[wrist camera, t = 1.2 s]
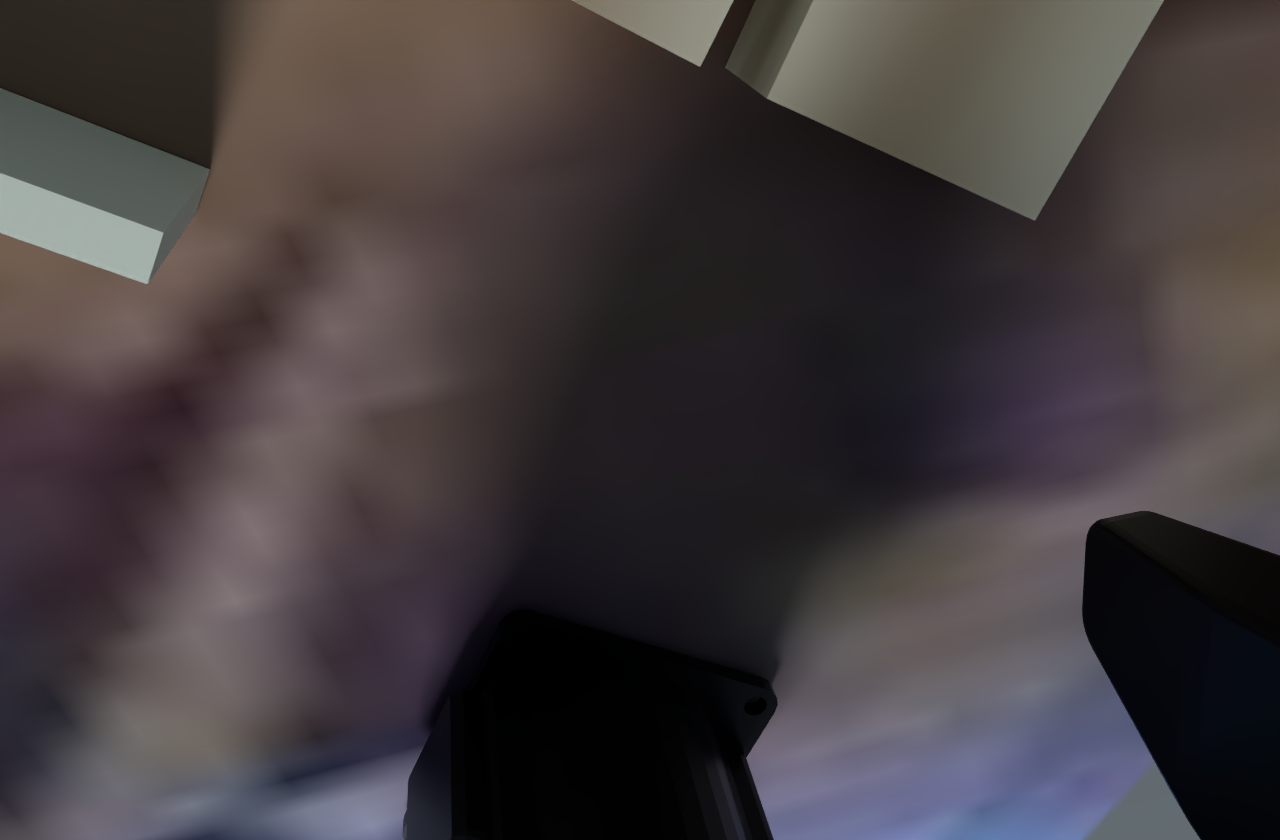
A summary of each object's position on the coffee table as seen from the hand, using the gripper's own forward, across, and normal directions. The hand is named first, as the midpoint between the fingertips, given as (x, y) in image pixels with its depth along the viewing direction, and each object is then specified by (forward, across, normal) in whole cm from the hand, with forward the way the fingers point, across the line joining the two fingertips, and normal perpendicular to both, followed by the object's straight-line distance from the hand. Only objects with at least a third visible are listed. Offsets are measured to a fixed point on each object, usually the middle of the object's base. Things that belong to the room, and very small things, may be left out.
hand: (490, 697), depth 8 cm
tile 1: (+13, -8, -2) cm, 16 cm away
